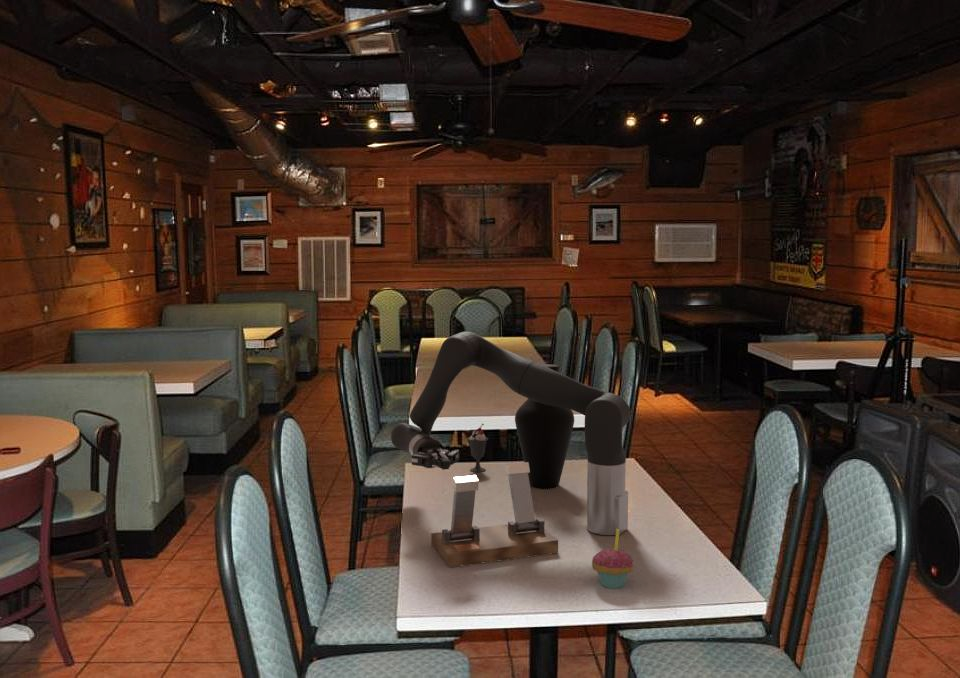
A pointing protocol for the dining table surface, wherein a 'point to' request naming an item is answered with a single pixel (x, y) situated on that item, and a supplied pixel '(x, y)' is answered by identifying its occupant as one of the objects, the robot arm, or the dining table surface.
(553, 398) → the robot arm
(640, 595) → the dining table surface
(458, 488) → the outer lever
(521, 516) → the inner lever
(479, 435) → the sundae
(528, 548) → the switch base
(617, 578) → the cupcake
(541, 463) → the vase
